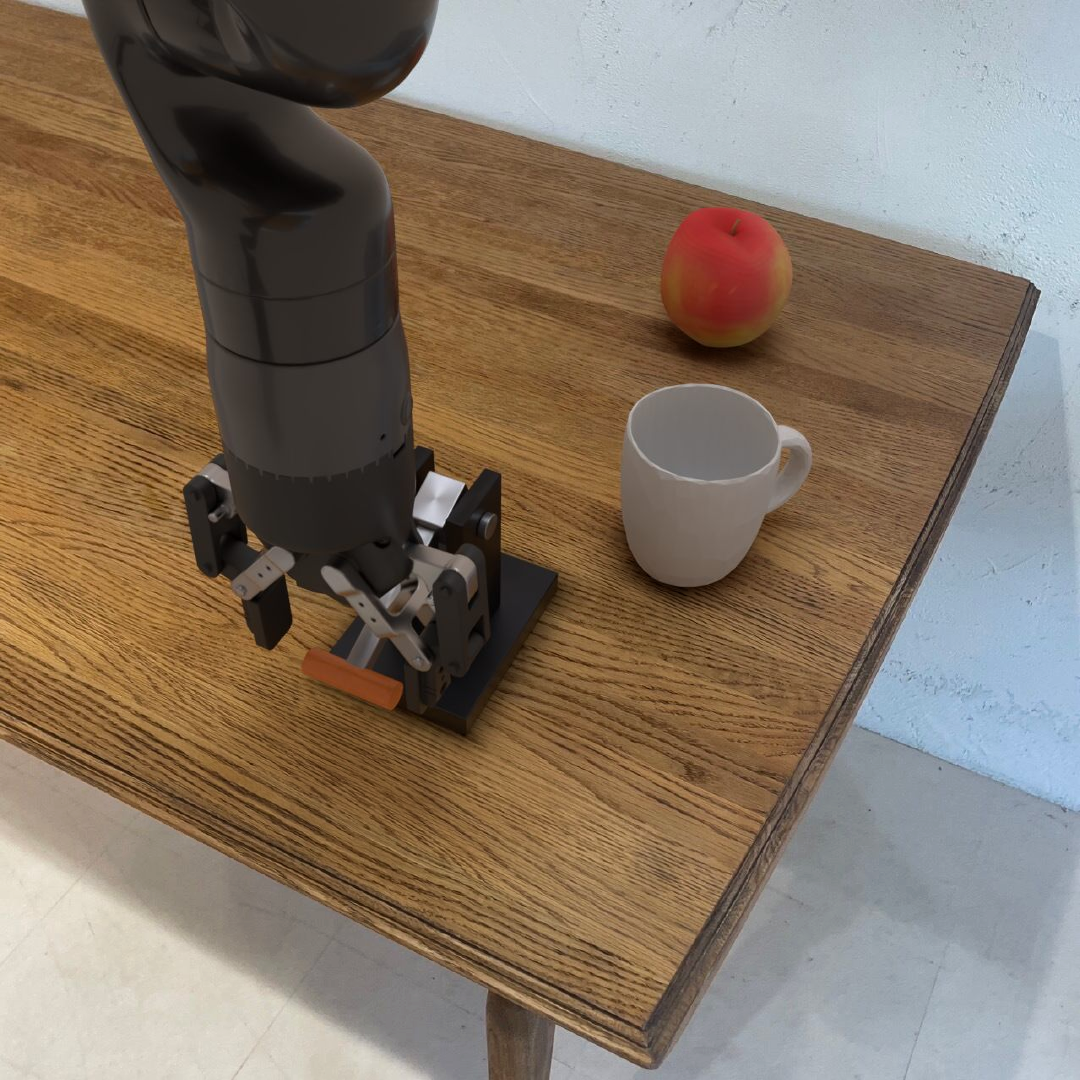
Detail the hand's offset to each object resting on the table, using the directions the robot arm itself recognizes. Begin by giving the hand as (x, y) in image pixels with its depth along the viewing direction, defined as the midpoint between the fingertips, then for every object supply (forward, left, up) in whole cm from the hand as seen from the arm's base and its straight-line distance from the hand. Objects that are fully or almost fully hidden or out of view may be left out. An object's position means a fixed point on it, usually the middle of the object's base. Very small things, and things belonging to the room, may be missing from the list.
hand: (349, 667), depth 56 cm
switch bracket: (+9, +3, -7) cm, 12 cm away
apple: (+44, +11, -7) cm, 46 cm away
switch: (+5, +2, 0) cm, 5 cm away
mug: (+26, -3, -7) cm, 27 cm away
